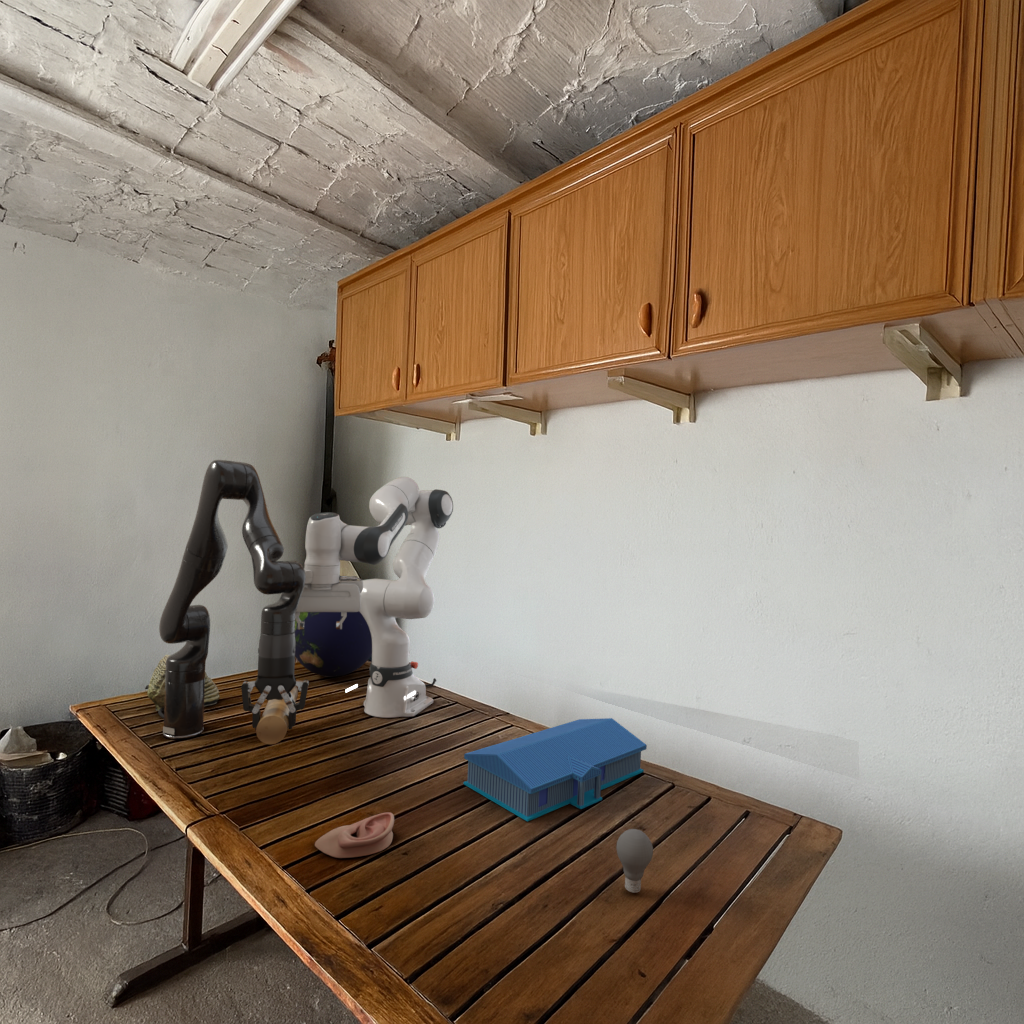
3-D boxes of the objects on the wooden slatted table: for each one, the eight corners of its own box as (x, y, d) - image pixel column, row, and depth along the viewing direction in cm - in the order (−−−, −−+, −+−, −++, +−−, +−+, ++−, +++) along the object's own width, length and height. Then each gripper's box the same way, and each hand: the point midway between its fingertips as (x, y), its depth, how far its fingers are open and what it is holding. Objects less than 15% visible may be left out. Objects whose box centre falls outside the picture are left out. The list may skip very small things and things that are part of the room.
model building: (538, 828, 124) (540, 777, 124) (462, 783, 143) (463, 739, 142) (655, 776, 151) (657, 734, 151) (578, 743, 169) (579, 706, 169)
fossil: (144, 707, 182) (145, 655, 182) (212, 696, 194) (213, 647, 194) (151, 716, 175) (153, 662, 175) (221, 703, 188) (223, 653, 188)
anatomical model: (306, 830, 112) (337, 801, 124) (305, 853, 112) (336, 821, 124) (376, 842, 110) (401, 811, 121) (375, 865, 110) (400, 831, 121)
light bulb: (610, 879, 108) (613, 822, 108) (644, 879, 109) (647, 822, 109) (619, 902, 102) (622, 840, 102) (655, 901, 103) (658, 840, 103)
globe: (268, 679, 214) (272, 591, 213) (326, 660, 242) (329, 582, 241) (341, 693, 203) (345, 600, 202) (393, 671, 230) (396, 589, 230)
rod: (286, 743, 135) (287, 715, 135) (255, 745, 133) (256, 716, 133) (297, 705, 159) (298, 681, 159) (271, 706, 157) (272, 681, 157)
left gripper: (312, 648, 143) (309, 721, 144) (244, 648, 140) (241, 723, 140) (310, 656, 136) (306, 733, 136) (238, 657, 133) (235, 736, 133)
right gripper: (363, 574, 169) (361, 626, 169) (282, 573, 164) (280, 626, 164) (363, 577, 162) (361, 631, 163) (279, 576, 158) (277, 631, 158)
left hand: (273, 728), depth 138 cm, fingers closed on rod, 6 cm apart
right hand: (320, 629), depth 163 cm, fingers open, 8 cm apart
